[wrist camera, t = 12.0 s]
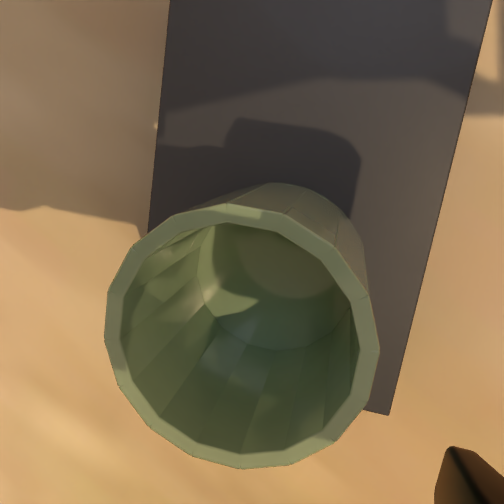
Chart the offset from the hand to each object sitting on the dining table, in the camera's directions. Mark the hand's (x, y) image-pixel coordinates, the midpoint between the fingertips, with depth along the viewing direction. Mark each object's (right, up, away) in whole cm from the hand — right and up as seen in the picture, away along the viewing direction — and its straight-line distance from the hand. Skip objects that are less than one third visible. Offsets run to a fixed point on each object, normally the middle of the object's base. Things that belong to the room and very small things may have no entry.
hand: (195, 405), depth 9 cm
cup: (+2, +2, +9) cm, 10 cm away
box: (+3, +6, +12) cm, 13 cm away
